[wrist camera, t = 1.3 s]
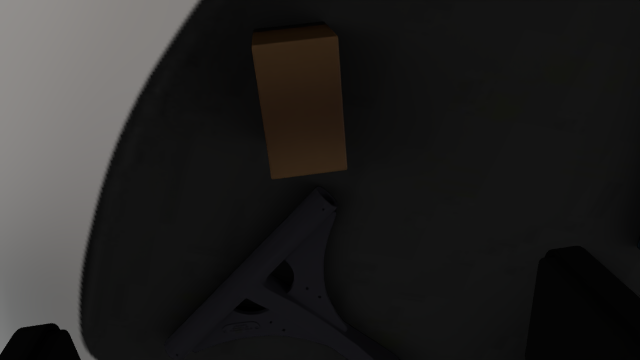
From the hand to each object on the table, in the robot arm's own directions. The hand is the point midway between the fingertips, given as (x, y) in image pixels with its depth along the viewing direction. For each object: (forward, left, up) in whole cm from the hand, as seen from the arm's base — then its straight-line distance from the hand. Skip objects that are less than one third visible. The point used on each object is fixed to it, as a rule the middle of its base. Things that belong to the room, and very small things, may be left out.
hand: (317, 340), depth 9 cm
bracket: (+15, +1, -17) cm, 23 cm away
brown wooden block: (-1, +1, -17) cm, 17 cm away
